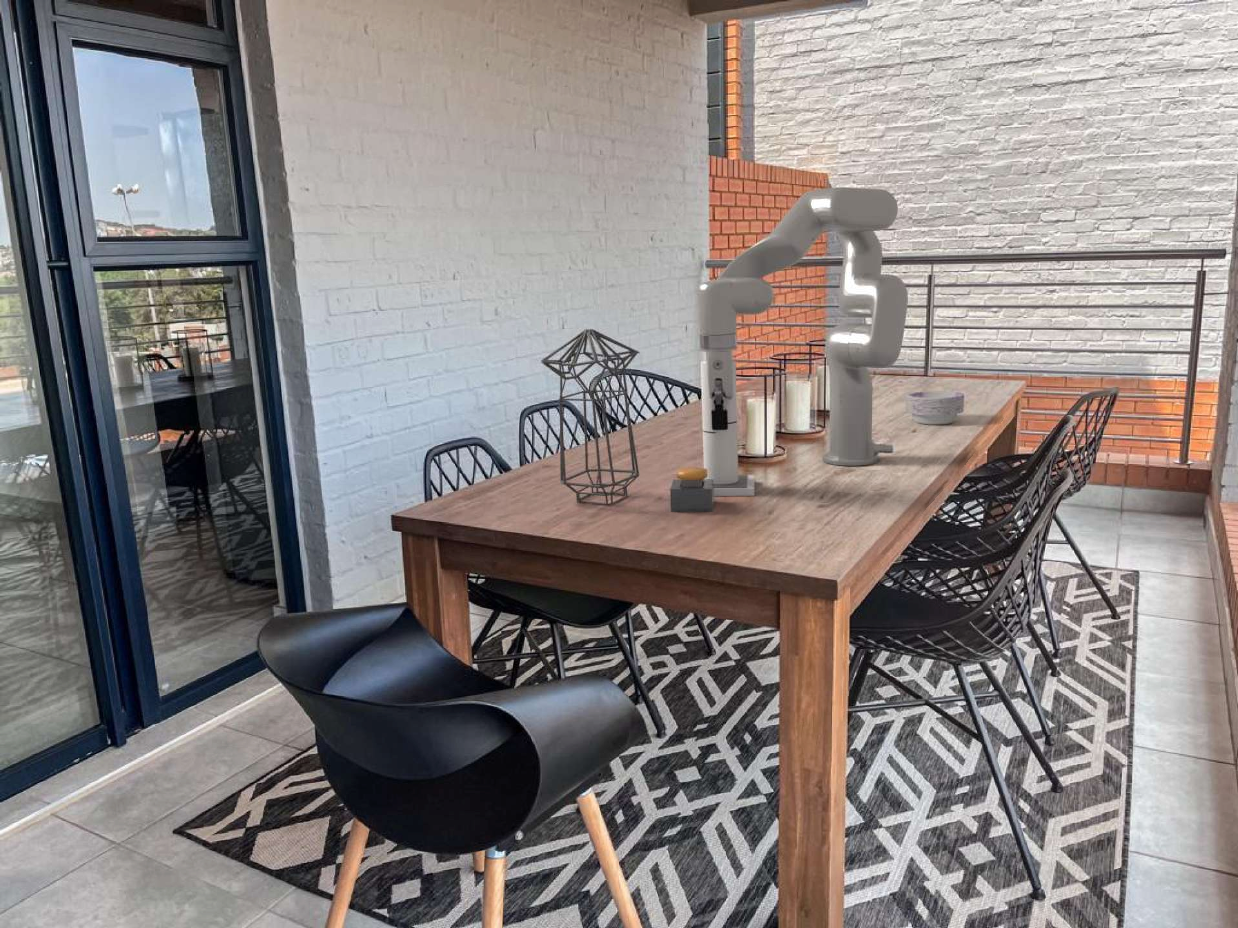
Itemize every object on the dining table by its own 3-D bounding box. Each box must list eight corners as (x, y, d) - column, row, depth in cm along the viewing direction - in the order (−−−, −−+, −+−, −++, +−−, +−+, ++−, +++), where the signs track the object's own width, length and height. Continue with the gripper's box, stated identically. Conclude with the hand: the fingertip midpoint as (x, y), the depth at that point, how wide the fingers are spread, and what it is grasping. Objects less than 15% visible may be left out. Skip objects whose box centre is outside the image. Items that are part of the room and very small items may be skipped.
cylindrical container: (736, 484, 198) (734, 363, 193) (702, 484, 200) (698, 364, 195) (739, 476, 205) (737, 359, 200) (706, 476, 207) (702, 360, 202)
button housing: (714, 500, 193) (713, 479, 192) (712, 511, 186) (711, 488, 185) (674, 501, 194) (673, 479, 193) (670, 511, 187) (670, 489, 186)
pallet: (754, 481, 208) (754, 474, 207) (754, 495, 196) (754, 487, 196) (689, 482, 210) (689, 474, 209) (685, 496, 198) (685, 488, 198)
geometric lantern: (613, 512, 188) (600, 332, 180) (548, 506, 196) (532, 334, 189) (653, 493, 201) (642, 324, 193) (590, 487, 209) (578, 326, 202)
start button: (708, 492, 192) (708, 467, 191) (707, 500, 186) (706, 474, 185) (678, 492, 193) (677, 467, 192) (676, 500, 187) (675, 474, 186)
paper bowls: (907, 417, 276) (908, 389, 274) (964, 418, 270) (965, 390, 269) (902, 426, 262) (903, 397, 260) (962, 428, 257) (963, 398, 255)
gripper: (736, 346, 187) (738, 433, 191) (737, 337, 204) (739, 417, 208) (697, 348, 188) (700, 433, 192) (702, 339, 205) (704, 418, 209)
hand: (720, 425), depth 200 cm, fingers open, 9 cm apart
